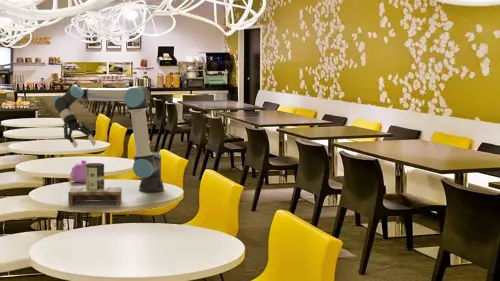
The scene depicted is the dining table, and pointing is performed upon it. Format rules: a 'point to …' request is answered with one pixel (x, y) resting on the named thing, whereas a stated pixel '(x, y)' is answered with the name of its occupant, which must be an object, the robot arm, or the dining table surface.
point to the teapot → (79, 172)
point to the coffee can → (94, 176)
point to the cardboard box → (95, 194)
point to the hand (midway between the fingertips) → (85, 145)
